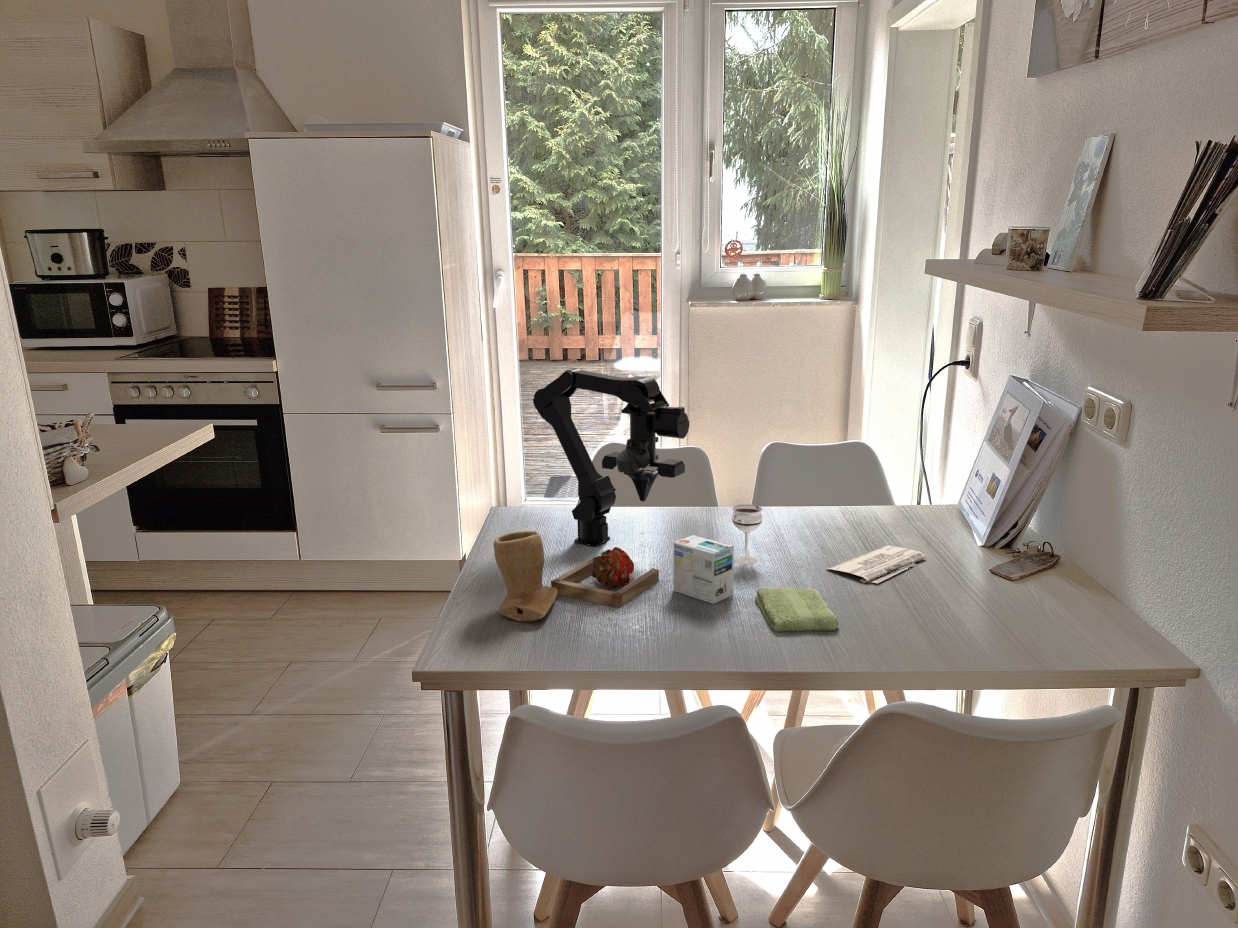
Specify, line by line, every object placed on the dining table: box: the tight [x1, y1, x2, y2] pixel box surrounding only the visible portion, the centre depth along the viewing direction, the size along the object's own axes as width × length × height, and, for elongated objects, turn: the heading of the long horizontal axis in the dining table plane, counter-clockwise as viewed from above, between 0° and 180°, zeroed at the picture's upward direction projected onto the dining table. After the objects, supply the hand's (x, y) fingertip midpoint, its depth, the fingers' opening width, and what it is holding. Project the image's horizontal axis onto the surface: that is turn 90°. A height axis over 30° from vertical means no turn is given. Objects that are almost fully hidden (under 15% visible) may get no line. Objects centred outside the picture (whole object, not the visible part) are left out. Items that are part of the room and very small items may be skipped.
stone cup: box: [493, 530, 558, 623], centre depth 170 cm, size 15×12×15 cm
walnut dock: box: [550, 556, 660, 609], centre depth 182 cm, size 16×16×2 cm
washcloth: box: [754, 586, 839, 633], centre depth 168 cm, size 13×18×3 cm
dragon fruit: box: [590, 546, 635, 589], centre depth 183 cm, size 8×8×12 cm
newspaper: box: [825, 545, 926, 584], centre depth 192 cm, size 23×12×2 cm, turn 130°
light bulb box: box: [673, 534, 735, 605], centre depth 177 cm, size 11×7×11 cm, turn 47°
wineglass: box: [731, 503, 764, 565], centre depth 195 cm, size 7×7×12 cm
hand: (643, 500), depth 200 cm, fingers closed
